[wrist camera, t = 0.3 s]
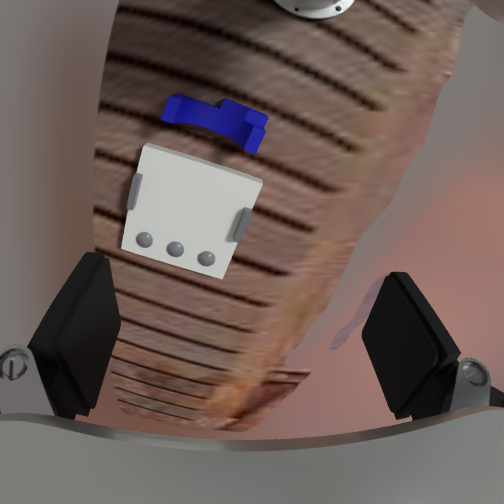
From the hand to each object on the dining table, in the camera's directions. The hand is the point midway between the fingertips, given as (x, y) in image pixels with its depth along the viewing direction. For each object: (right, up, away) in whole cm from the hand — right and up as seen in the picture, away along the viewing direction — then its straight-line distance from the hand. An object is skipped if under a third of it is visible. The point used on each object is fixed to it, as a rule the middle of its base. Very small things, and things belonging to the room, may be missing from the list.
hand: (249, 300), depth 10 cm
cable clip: (-4, +20, +28) cm, 35 cm away
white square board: (-10, +7, +35) cm, 37 cm away
